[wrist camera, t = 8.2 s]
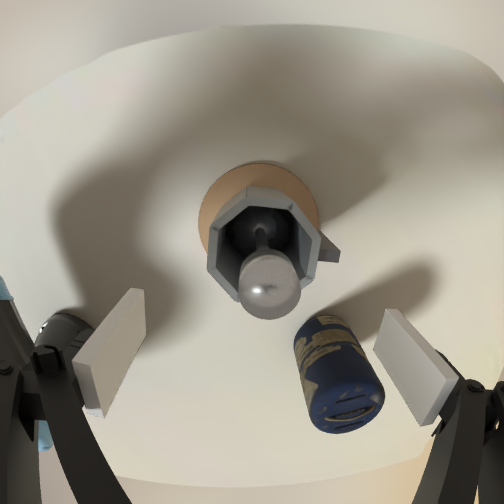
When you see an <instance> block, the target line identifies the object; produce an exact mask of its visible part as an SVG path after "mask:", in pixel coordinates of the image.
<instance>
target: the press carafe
mask: <svg viewBox="0 0 504 504" xmlns="http://www.w3.org/2000/svg"><path fill="white" fill-rule="evenodd" d="M250 205H251V206H261V207H270V208H276V209H277V210H278V211H279V212H280V213H281V214H282V215H283V217H284V218H285V220H286V222H287V226H288V238H287V241H286V243H285V245H284V247H283V248H282V250H281V251H280V252H282V253H283V254H285V255H286V256H287V257H288V258H289V259H290V261H291V262H292V264H293V267H294V269H295V271H296V274H297V276H298V279H299V281H300V285H301V289H303V288H304V287H305V286H307V285H308V284H310V283H311V282H312V281H313V279H314V277H315V272H316V266H317V261H325V262H336V263H339V257H340V252H341V251H340V250H339V249H338V248H337V247H336V246H335V245H334V244H333V243H332V242H331V241H330V240H329V239H328V238H327V237H326V236H325V235H324V234H323V233H322V232H321V231H318V224H319V223H318V212H317V207H316V204H315V201H314V199H313V197H312V195H311V193H310V192H309V190H308V189H307V187H306V186H305V185H304V184H303V183H302V181H301V180H299V179H298V178H297V177H296V176H295V175H293V174H292V173H290V172H288V171H286V170H284V169H282V168H279V167H276V166H273V165H268V164H249V165H245V166H241V167H238V168H235V169H233V170H231V171H229V172H227V173H226V174H224V175H223V176H222V177H220V178H219V179H218V180H217V181H216V182H215V183H214V184H213V185H212V186H211V188H210V189H209V190H208V192H207V194H206V195H205V197H204V199H203V202H202V204H201V208H200V212H199V226H198V227H199V234H200V238H201V242H202V244H203V246H204V249H205V251H206V252H207V254H208V255H207V269H208V270H207V271H208V272H209V273H210V275H211V276H212V277H213V278H214V279H215V280H216V281H217V282H218V283H219V284H220V286H221V287H222V288H223V289H224V290H225V291H226V292H227V293H228V294H229V295H230V296H231V298H232V299H233V300H234V301H236V302H240V300H239V295H238V287H239V275H240V269H241V266H242V264H243V262H244V260H245V259H246V258H247V256H245V255H244V254H242V253H241V252H240V251H239V250H238V249H237V247H236V246H235V244H234V241H233V238H232V226H233V223H234V220H235V218H236V216H237V215H238V214H239V213H240V212H241V211H243V210H244V209H245V208H246V207H248V206H250ZM240 303H241V302H240Z"/></svg>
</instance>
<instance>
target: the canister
mask: <svg viewBox="0 0 504 504" xmlns="http://www.w3.org/2000/svg"><path fill="white" fill-rule="evenodd" d="M294 353H295V357H296V361H297V365H298V369H299V373H300V380H301V384H302V388H303V392H304V396H305V401H306V405H307V408H308V412H309V416H310V419H311V421H312V423H313V424H314V426H315V427H316V428H318V429H319V430H321V431H323V432H326V433H332V434H341V433H347V432H350V431H353V430H356V429H358V428H360V427H362V426H364V425H366V424H367V423H368V422H370V421H371V420H372V419H373V418H375V417H376V416H377V414H378V413H379V412H380V410H381V408H382V406H383V404H384V401H385V391H384V388H383V385H382V384H381V382H380V380H379V378H378V377H377V375H376V373H375V371H374V370H373V368H372V366H371V364H370V363H369V361H368V359H367V357H366V355H365V352H364V351H363V349H362V347H361V345H360V344H359V342H358V340H357V339H356V337H355V336H354V334H353V333H352V331H351V329H350V327H349V326H348V325H347V323H346V322H344V321H343V320H342V319H340V318H338V317H335V316H330V315H326V316H319V317H316V318H313V319H311V320H309V321H308V322H306V323H305V324H304V325H303V326H302V327H301V328H300V329H299V331H298V332H297V334H296V336H295V339H294Z"/></svg>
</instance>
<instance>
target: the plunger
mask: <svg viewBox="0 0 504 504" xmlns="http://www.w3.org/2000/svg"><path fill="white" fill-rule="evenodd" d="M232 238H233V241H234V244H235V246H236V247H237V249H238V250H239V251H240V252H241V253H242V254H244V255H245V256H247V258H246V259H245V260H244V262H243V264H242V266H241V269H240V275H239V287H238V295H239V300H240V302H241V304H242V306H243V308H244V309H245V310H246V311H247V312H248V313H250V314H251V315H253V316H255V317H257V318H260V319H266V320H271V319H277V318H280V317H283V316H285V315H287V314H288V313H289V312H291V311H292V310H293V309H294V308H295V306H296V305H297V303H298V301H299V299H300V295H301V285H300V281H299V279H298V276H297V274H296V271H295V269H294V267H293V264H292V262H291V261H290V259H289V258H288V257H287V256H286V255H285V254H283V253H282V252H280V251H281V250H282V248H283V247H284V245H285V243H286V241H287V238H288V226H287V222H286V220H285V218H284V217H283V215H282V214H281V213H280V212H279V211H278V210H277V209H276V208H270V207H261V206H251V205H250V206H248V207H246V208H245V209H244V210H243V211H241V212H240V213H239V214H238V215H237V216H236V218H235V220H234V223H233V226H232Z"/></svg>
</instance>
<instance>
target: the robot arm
mask: <svg viewBox="0 0 504 504" xmlns="http://www.w3.org/2000/svg"><path fill="white" fill-rule="evenodd" d="M13 300H14V299H13V297H12V296H11V295H10V293H9V291H8V289H7V287H6V284H5V282H4V280H3V278H2V277H1V276H0V504H42V501H41V490H40V477H39V451H47V450H49V449H50V448H51V447H52V446H53V444H54V446H55V449H56V451H57V454H58V457H59V460H60V463H61V465H62V468H63V470H64V473H65V475H66V478H67V480H68V483H69V485H70V487H71V490H72V492H73V494H74V496H75V498H76V500H77V502H78V504H132V503H131V501H130V500H129V498H128V497H127V495H126V493H125V492H124V490H123V489H122V487H121V485H120V484H119V482H118V480H117V479H116V477H115V475H114V473H113V472H112V470H111V468H110V466H109V464H108V463H107V461H106V459H105V457H104V455H103V453H102V451H101V449H100V447H99V445H98V443H97V441H96V439H95V437H94V435H93V433H92V431H91V429H90V426H89V424H88V422H87V420H86V417H85V415H84V413H83V410H82V408H83V406H84V405H85V408H86V411H87V414H89V415H93V416H96V417H100V418H105V416H106V414H107V412H108V410H109V408H110V406H111V404H112V402H113V399H114V397H115V395H116V393H117V391H118V389H119V387H120V385H121V383H122V381H123V379H124V377H125V375H126V373H127V371H128V369H129V367H130V365H131V363H132V361H133V359H134V357H135V355H136V353H137V351H138V349H139V347H140V346H141V344H142V342H143V340H144V338H145V336H146V322H145V302H144V289H137V288H130V289H129V290H128V291H127V292H126V294H125V295H124V296H123V297H122V298H121V300H120V301H119V302H118V303H117V304H116V306H115V307H114V308H113V309H112V310H111V312H110V313H109V314H108V315H107V316H106V318H105V319H104V320H103V321H102V323H101V324H100V325H99V326H98V328H97V329H96V330H94V329H93V328H91V327H90V326H89V325H88V324H87V323H85V322H84V321H82V320H81V319H79V318H77V317H75V316H72V315H68V314H56V315H53V316H52V317H50V318H49V319H48V320H47V321H46V322H45V323H44V324H43V325H42V327H41V328H40V331H39V334H38V336H37V338H36V341H35V343H33V341H32V339H31V337H30V335H29V333H28V331H27V329H26V327H25V325H24V323H23V321H22V319H21V317H20V315H19V312H18V310H17V308H16V306H15V303H14V301H13ZM373 350H374V352H375V353H376V355H377V357H378V358H379V360H380V361H381V363H382V365H383V366H384V368H385V369H386V371H387V373H388V374H389V376H390V377H391V379H392V381H393V382H394V384H395V386H396V387H397V389H398V390H399V392H400V394H401V395H402V397H403V399H404V400H405V402H406V404H407V405H408V407H409V409H410V410H411V412H412V414H413V416H414V417H415V419H416V421H417V422H418V424H419V426H420V427H421V426H425V425H430V424H433V422H434V421H435V419H436V418H437V416H438V414H439V415H440V417H441V418H442V420H441V421H440V423H439V425H438V426H437V428H436V429H435V431H434V432H433V434H432V435H431V436H432V437H433V436H434V434H436V436H435V440H434V443H433V446H432V449H431V453H430V456H429V459H428V462H427V465H426V468H425V471H424V474H423V476H422V480H421V482H420V485H419V487H418V490H417V492H416V495H415V497H414V500H413V502H412V504H474V500H475V496H476V490H477V486H478V496H479V504H504V381H500V382H497V384H496V386H495V388H494V389H493V390H485V388H484V386H483V385H482V384H481V383H480V382H478V381H476V380H472V379H468V380H465V379H464V377H463V376H462V375H461V374H460V373H459V372H458V371H457V369H456V368H455V367H454V366H452V364H451V363H450V362H449V361H448V359H447V358H446V357H445V356H444V355H443V354H442V353H440V352H439V351H437V350H436V349H434V348H433V347H432V346H431V345H430V344H429V343H428V342H427V340H426V339H425V338H424V337H423V336H422V335H421V334H420V333H419V332H418V331H417V330H416V329H415V327H414V326H413V325H412V324H411V323H410V322H409V321H408V320H407V319H406V318H405V317H404V316H403V315H402V314H401V313H400V312H399V311H398V309H385V313H384V316H383V320H382V323H381V326H380V329H379V332H378V335H377V339H376V342H375V345H374V348H373ZM498 422H499V425H498V428H497V429H496V425H497V423H498Z"/></svg>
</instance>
